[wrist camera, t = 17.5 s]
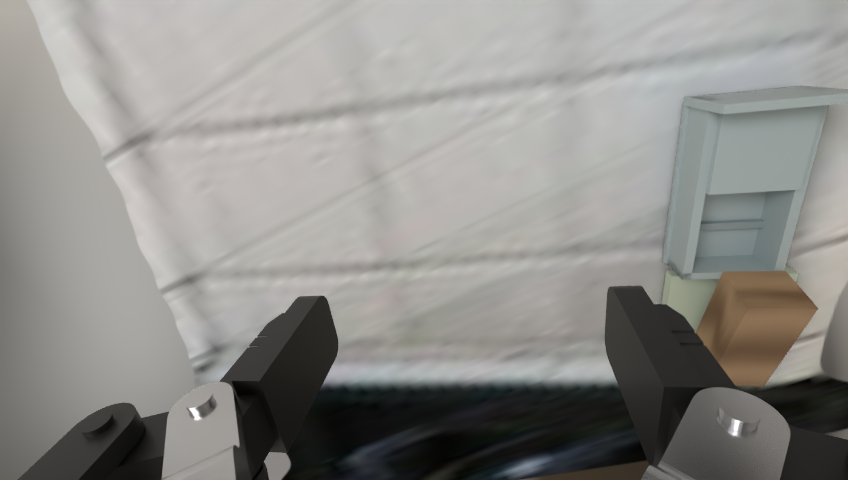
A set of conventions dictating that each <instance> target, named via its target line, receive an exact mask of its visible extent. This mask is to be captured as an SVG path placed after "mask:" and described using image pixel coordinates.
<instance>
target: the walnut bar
mask: <svg viewBox="0 0 848 480" xmlns="http://www.w3.org/2000/svg"><path fill="white" fill-rule="evenodd" d="M817 310H818V308H817V307H816V305H815V304H814V303H813V302H812V301H811V300H810V298H809V297H808V296H807V295H806V294H805V293H804V292H803V290H802V289H801V288H800V287H799V286H798V285H797V283H796V282H795V281H794V280H793V279H792V278H791V276H790V275H789V274H788V273H787V272H786V271H726V272H723V273H722V275H721V278H720V280H719V282H718V284H717V286H716V289H715V291H714V293H713V295H712V297H711V300H710V302H709V304H708V306H707V308H706V311H705V313H704V315H703V317H702V320H701V322H700V324H699V326H698V328H697V331H696V333H697V335H698V336H699V337H700V339H701V340H702V341H703V344H704V346H706V347H707V348H708V349H709V351H710V352H711V353H712V355H713V356H714V358H715V359H716V360H717V362H718V363H719V364H720V366H721V367H722V368H723V370H724V371H725V372H726V374H727V375H728V377H729V378H730V379H731V381H732V382H733V383H734V385H736V386H764V385H765V384H766V382H767V381H768V379H769V378H770V377H771V375H772V374H773V372H774V371H775V369H776V368H777V367H778V365H779V364H780V362H781V361H782V359H783V358H784V357H785V355H786V354H787V352H788V351H789V350H790V348H791V347H792V345H793V344H794V342H795V341H796V340H797V338H798V337H799V335H800V334H801V332H802V331H803V330H804V328H805V327H806V325H807V324H808V322H809V321H810V320H811V318H812V317H813V315H814V314H815V312H816V311H817Z"/></svg>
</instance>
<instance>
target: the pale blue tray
mask: <svg viewBox="0 0 848 480" xmlns="http://www.w3.org/2000/svg"><path fill="white" fill-rule="evenodd" d="M843 103H848V89H838V88H825V87H812V86H794V87H784V88H774V89H764V90H754V91H743V92H733V93H723V94H713V95H703V96H693V97H684V101H683V108H682V116H681V123H680V131H679V138H678V145H677V153H676V160H675V168H674V175H673V183H672V190H671V198H670V205H669V212H668V220H667V227H666V235H665V242H664V250H663V257H662V262H663V263H664V264H668V265H669V266H670V267H671V268H672V269H673V270H674V271H675V272H676V274H677V275H678V276H679V277H680V278H681V279H682V280H694V279H720V278H721V275H722V273H723V272H726V271H784V269H785V266H786V262H787V258H788V255H789V251H790V247H791V243H792V240H793V236H794V232H795V229H796V225H797V221H798V218H799V214H800V210H801V207H802V203H803V199H804V196H805V192H806V188H807V184H808V181H809V177H810V173H811V170H812V166H813V162H814V159H815V155H816V151H817V148H818V144H819V140H820V136H821V133H822V129H823V125H824V122H825V118H826V114H827V111H828V107H829V105H832V104H843Z"/></svg>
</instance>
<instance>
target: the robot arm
mask: <svg viewBox="0 0 848 480" xmlns="http://www.w3.org/2000/svg"><path fill="white" fill-rule="evenodd" d="M605 345H606V352H607V356H608V359H609V362H610V364H611V367H612V369H613V372H614V375H615V377H616V380H617V382H618V385H619V388H620V390H621V393H622V395H623V398H624V401H625V403H626V406H627V408H628V411H629V414H630V416H631V419H632V421H633V424H634V427H635V429H636V432H637V434H638V437H639V439H640V442H641V445H642V447H643V450H644V452H645V455H646V458H647V460H648V463H649V465H650V466H649V467H648V468H647V470H646V472H645V473H644V475H643V477H642V479H641V480H848V440H846V439H842V438H837V437H833V436H829V435H825V434H821V433H817V432H813V431H808V430H804V429H801V428H797V427H794V426H791V425H788V424H787V422H786V421H785V419H784V418H783V417H782V415H781V414H780V413H779V412H778V411H777V410H775V409H774V408H773V407H772V406H770V405H769V404H767V403H766V402H764V401H763V400H761V399H759V398H757V397H755V396H753V395H750V394H748V393H745V392H742V391H739V390H738V389H737V387H736V386H735V385H734V383H733V382H732V381H731V379H730V378H729V377H728V375H727V374H726V372H725V371H724V370H723V368H722V367H721V366H720V364H719V363H718V362H717V360H716V359H715V358H714V356H713V355H712V353H711V352H710V351H709V349H708V348H707V347H706V346H704V344H703V341H702V340H701V339H700V337H699V336H698V335H697V333H695V330H694V329H693V328H692V326H691V325H690V324H689V322H688V321H687V320H686V318H685V317H684V316H683V315H681V314H680V313H678V312H677V311H675V310H674V309H672V308H671V307H669V306H668V305H666V304H656V305H654V304H653V302H652V301H651V299H650V298H649V296H648V295H647V293H646V292H645V290H644V289H643V287H642V286H615V287H609V289H608V293H607V307H606V324H605ZM337 352H338V337H337V333H336V330H335V326H334V322H333V319H332V315H331V311H330V308H329V304H328V301H327V299H326V298H325V297H324V296H301V297H298V298H297V299H296V300H295V301H294V302H293V304H292V305H291V306H290V307H289V309H288V310H287V311H286V312H285V313H282V314H281V315H279V316H278V317H276V318H275V319H274V320H272V321H271V322H269V323H268V324H267V325H266V326H265V327H264V329H263V330H262V331H261V332H260V334H259V335H258V338H255V340H254V341H253V342H252V343H251V344H250V347H249V348H247V349H246V350H245V352H244V353H243V354H242V355H241V356H240V358H239V359H238V360H237V361H236V362H235V364H234V365H233V366H232V367H231V368H230V370H229V371H228V372H227V373H226V374H225V376H224V377H223V378H222V379H221V380H220V382H212V383H208V384H205V385H202V386H199V387H197V388H195V389H193V390H192V391H190V392H188V393H187V394H185V395H184V396H183V397H182V398H180V399H179V400H178V401H177V402H176V403H175V404H174V405H173V407H172V408H171V410H170V412H166V413H161V414H157V415H153V416H149V417H145V418H141V417H140V415H139V414H138V412H137V410H136V408H135V407H134V406H133V405H132V404H130V403H118V404H114V405H110V406H107V407H105V408H102V409H100V410H98V411H96V412H94V413H93V414H91V415H89V416H88V417H86V418H85V419H84V420H82V421H81V422H79V423H78V424H77V425H76V426H74V427H73V428H72V429H71V430H70V431H69V432H68V433H67V434H66V435H65V436H64V437H63V438H62V439H60V440H59V441H58V442H57V443H56V444H55V445H54V446H53V447H52V448H51V449H50V450H49V451H48V452H47V453H46V454H45V455H44V456H42V457H41V458H40V459H39V460H38V461H37V462H36V463H35V464H34V465H33V466H32V467H31V468H30V469H29V470H28V471H27V472H25V473H24V474H23V475H22V476H21V477H20V478H19V479H18V480H269V478H268V472H267V468H266V465H265V463H264V460H265V458H266V456H267V455H268V453H269V452H282V453H287V452H288V450H289V448H290V446H291V444H292V443H293V441H294V439H295V437H296V435H297V433H298V431H299V429H300V427H301V425H302V423H303V421H304V419H305V417H306V415H307V413H308V411H309V409H310V407H311V405H312V403H313V402H314V400H315V398H316V396H317V394H318V392H319V390H320V388H321V386H322V384H323V382H324V380H325V378H326V376H327V374H328V372H329V370H330V368H331V366H332V364H333V363H334V361H335V358H336V356H337Z"/></svg>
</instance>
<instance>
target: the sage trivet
mask: <svg viewBox="0 0 848 480" xmlns="http://www.w3.org/2000/svg"><path fill="white" fill-rule="evenodd" d="M784 271H786V272H787V273H788V274H789V275H790V276H791V278H792V279H793V280H794V281H795V282H797V279H798V275H799V273H798V272H796V271H795V270H793V269H792V268H791V267H785V269H784ZM719 280H720V279H694V280H682V279H681V278H680V277H679V276H678V275H677V274H676V272H675V271H674V270H666V276H665V283H664V291H663V298H662V304H666V305H668V306H669V307H671V308H672V309H674V310H675V311H677V312H678V313H680V314H681V315H683V316H684V317H685V318H686V320H687V321H688V322H689V324H690V325H691V326H692V328H693V329H694V330H695V333H696V331H697V328H698V326H699V324H700V322H701V320H702V317H703V315H704V313H705V311H706V308H707V306H708V304H709V302H710V300H711V297H712V295H713V293H714V291H715V289H716V286H717V284H718V282H719Z"/></svg>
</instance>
